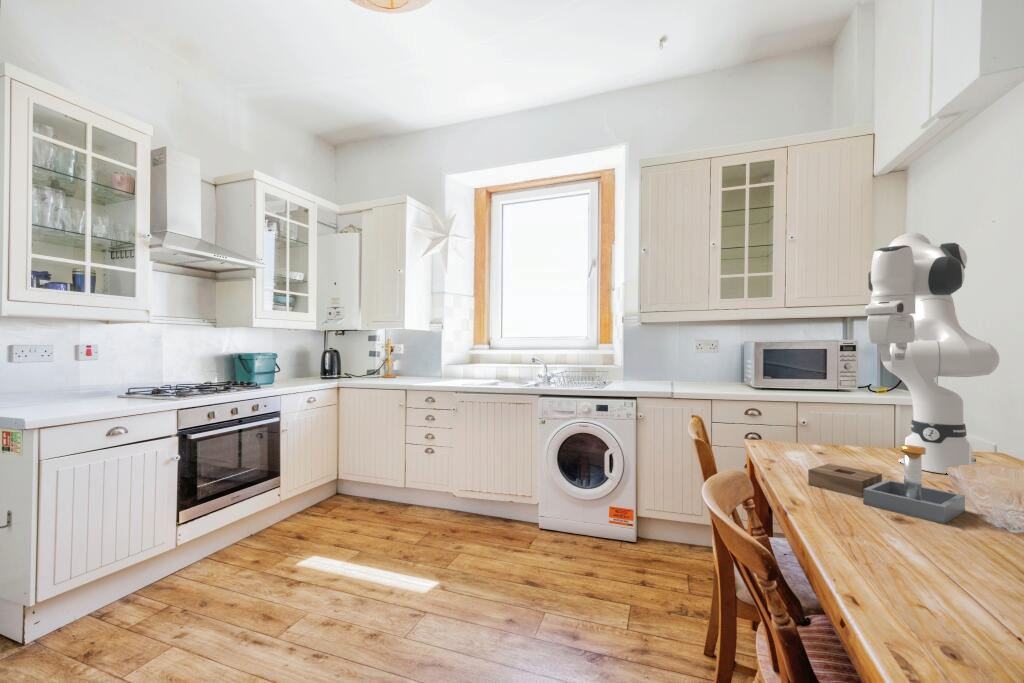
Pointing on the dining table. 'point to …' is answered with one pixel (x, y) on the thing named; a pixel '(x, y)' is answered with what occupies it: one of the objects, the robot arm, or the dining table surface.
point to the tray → (915, 501)
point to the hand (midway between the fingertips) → (893, 360)
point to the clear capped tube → (913, 471)
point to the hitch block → (843, 479)
